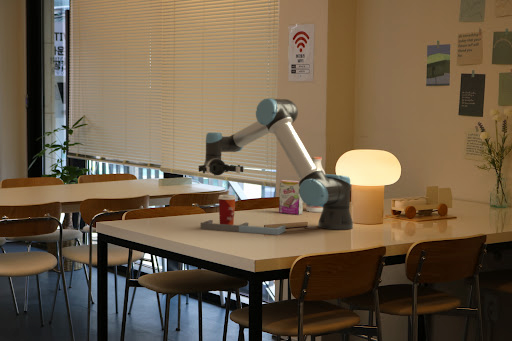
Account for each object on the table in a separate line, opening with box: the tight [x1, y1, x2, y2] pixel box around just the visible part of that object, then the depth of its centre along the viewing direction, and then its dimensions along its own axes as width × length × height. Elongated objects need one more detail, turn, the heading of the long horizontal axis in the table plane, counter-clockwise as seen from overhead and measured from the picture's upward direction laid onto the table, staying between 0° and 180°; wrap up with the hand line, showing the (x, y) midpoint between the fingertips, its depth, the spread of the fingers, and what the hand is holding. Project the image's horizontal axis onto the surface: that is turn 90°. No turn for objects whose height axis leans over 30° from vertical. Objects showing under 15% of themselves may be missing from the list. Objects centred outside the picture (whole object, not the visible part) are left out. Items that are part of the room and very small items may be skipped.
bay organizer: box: [200, 219, 286, 236], centre depth 311 cm, size 34×11×2 cm, turn 72°
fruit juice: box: [305, 156, 326, 213], centre depth 379 cm, size 9×9×28 cm
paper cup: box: [217, 194, 237, 225], centre depth 315 cm, size 8×8×14 cm
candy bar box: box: [278, 179, 304, 216], centre depth 368 cm, size 11×5×16 cm, turn 62°
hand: (224, 170), depth 323 cm, fingers open, 13 cm apart
